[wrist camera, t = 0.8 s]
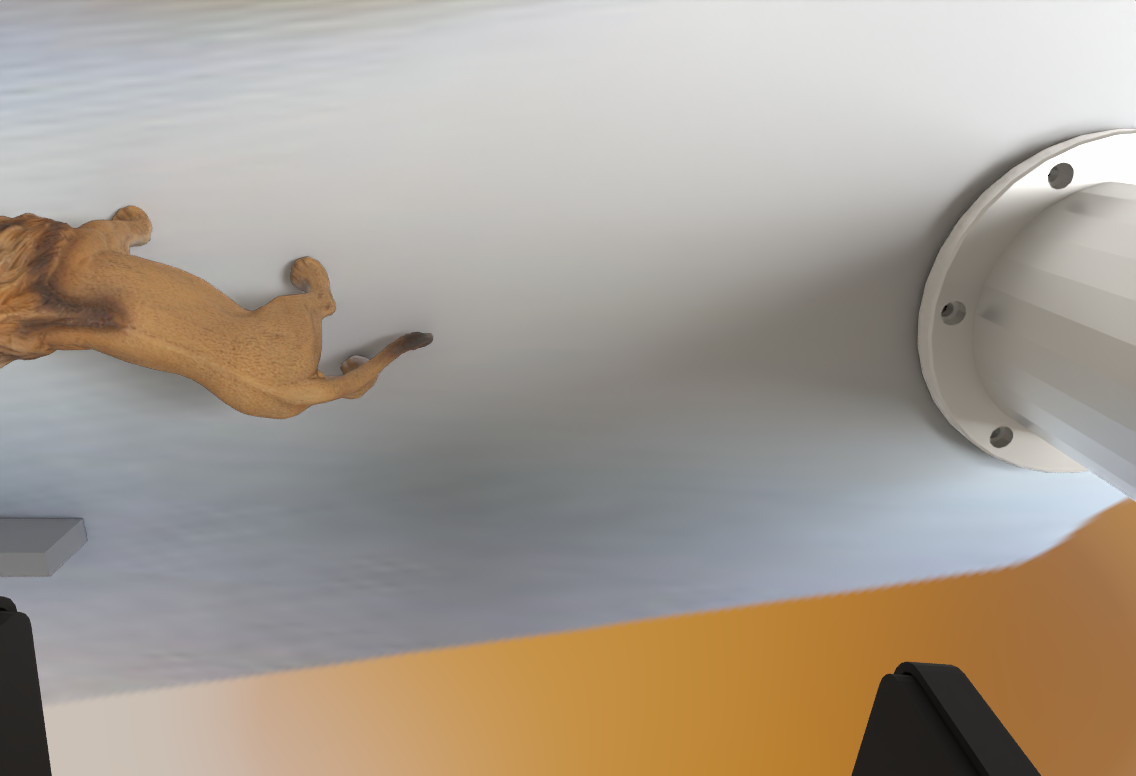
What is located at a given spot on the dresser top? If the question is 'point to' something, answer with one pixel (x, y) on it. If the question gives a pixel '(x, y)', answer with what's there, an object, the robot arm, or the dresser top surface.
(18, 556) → the box
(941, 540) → the dresser top surface
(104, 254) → the lion figurine
